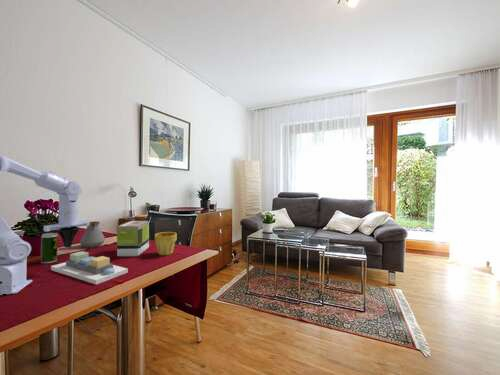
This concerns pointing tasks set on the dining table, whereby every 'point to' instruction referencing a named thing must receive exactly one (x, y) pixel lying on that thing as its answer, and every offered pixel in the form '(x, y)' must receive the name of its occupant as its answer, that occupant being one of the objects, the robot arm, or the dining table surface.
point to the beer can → (49, 248)
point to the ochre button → (99, 262)
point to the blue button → (86, 260)
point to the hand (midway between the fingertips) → (67, 246)
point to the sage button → (78, 256)
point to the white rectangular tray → (89, 271)
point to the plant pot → (165, 242)
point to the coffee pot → (92, 236)
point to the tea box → (132, 238)
